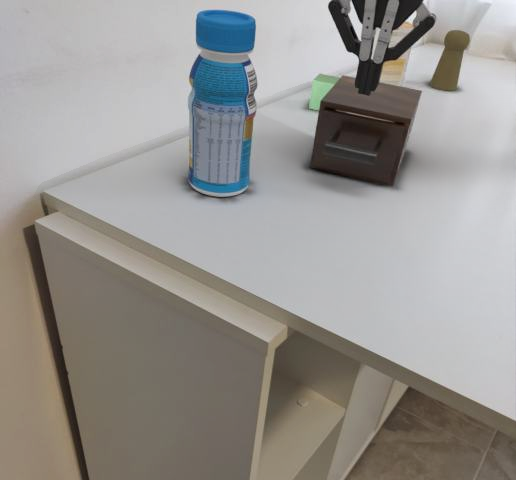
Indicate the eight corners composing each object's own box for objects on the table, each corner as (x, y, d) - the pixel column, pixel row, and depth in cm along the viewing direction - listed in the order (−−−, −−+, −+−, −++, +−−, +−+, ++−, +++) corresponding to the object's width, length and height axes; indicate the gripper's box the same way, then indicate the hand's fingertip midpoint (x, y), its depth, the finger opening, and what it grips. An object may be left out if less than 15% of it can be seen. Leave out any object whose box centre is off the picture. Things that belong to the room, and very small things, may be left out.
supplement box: (391, 91, 114) (408, 20, 105) (399, 98, 110) (417, 26, 102) (354, 89, 112) (368, 17, 104) (361, 97, 109) (377, 23, 100)
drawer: (382, 199, 72) (398, 142, 67) (302, 180, 74) (311, 123, 69) (401, 150, 86) (415, 100, 81) (332, 135, 88) (342, 85, 83)
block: (315, 101, 104) (319, 73, 101) (340, 106, 103) (345, 78, 100) (308, 108, 100) (312, 80, 97) (334, 113, 99) (339, 85, 96)
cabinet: (392, 186, 78) (411, 118, 71) (309, 167, 80) (320, 100, 74) (405, 152, 88) (422, 90, 82) (331, 136, 91) (342, 75, 84)
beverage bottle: (205, 203, 68) (210, 25, 55) (176, 176, 73) (175, 7, 60) (261, 192, 72) (278, 23, 59) (230, 167, 77) (239, 6, 64)
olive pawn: (455, 92, 118) (473, 36, 110) (427, 87, 119) (443, 31, 112) (457, 85, 122) (475, 31, 115) (431, 80, 123) (446, 26, 116)
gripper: (467, -74, 58) (419, 95, 69) (348, -91, 60) (321, 76, 71) (464, -71, 52) (413, 112, 64) (333, -90, 54) (306, 90, 66)
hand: (364, 92), depth 67 cm, fingers closed
